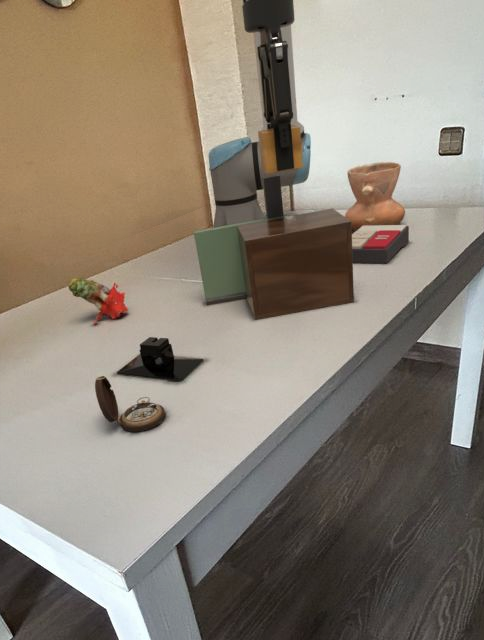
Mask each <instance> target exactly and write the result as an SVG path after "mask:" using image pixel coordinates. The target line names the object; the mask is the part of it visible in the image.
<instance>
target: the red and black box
mask: <svg viewBox="0 0 484 640" xmlns="http://www.w3.org/2000/svg"><path fill="white" fill-rule="evenodd" d="M409 227H410V226H408V225H406V224H397V225H373V226H362V227H361V228H360V229H358V230H357V231H355V230H354V232H352V257H353V264H388V263H389V262H390V261H391V260H392V259H393V258H394V257H395V256H396V254H397V253H398V252H400V250H401V249H402V248H405V247H406V246H407V245H408V243H409V241H410V240H409V239H410V228H409Z"/></svg>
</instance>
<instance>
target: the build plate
mask: <svg viewBox="0 0 484 640" xmlns="http://www.w3.org/2000/svg"><path fill="white" fill-rule="evenodd" d="M203 362H204V358H195V357H186V356H183V357H182V356H175V355H174V351H173V346H172V343H170V340H169V337H159V338H158V337H155V336H154V337H153V336H150V337H148V338H146V339H145V340H144V341H143V342H141V343H140V344H139V354H138V355H137V356H136V357H135V358H132V360H131V361H129V362H127V364H125V365H124V366H123V367H121V368H120V369H119V370H117V371H116V375H118V376H128V377H137V378H146V379H155V380H164V381H167V382H172V383H173V382H174V383H178V382H179V383H180V382H183V381H184V380H185V379H187V377H189V376H190V375H191V374H192V373H193V372H194V371H195V370H196V369H197V368H198V367H199V366H200V365H201V364H203Z"/></svg>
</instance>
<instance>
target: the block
mask: <svg viewBox="0 0 484 640" xmlns="http://www.w3.org/2000/svg"><path fill="white" fill-rule="evenodd" d="M291 132H292V144H293V157H294V168H293V169H298V168H303V162H302V147H301V133H300V127H299V126H295V125H291ZM257 134H258V135H257V137H258V141H259V147H260V156H261V165H262V170H263V171H264V172H265V173H267V174H269V173H275V172H281V171H277V162H276V152H275V141H274V131H273V128H272V129H267V130H261V129H260V130H257ZM287 170H292V169H287ZM282 171H286V170H282Z"/></svg>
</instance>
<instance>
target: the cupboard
mask: <svg viewBox="0 0 484 640" xmlns="http://www.w3.org/2000/svg"><path fill="white" fill-rule="evenodd" d="M237 230H238V237H239V244H240V252H241V259H242V266H243V274H244V281H245V288H246V292H242V293H236V294H231V295H225V296H220V297H214V298H209V299H205V302H206V305H207V306H210V305H216V304H221V303H226V302H232V301H238V300H242V299H246V300H247V302H248V305H249V307H250V310H251V313H252V315H253V319H254V320H255V321H256V320H261V319H266V318H272V317H277V316H283V315H289V314H295V313H298V312H299V313H300V312H304V311H305V312H306V311H311V310H317V309H322V308H328V307H332V306H338V305H339V306H340V305H345V304H350V303H354V302H355V293H354V291H355V290H354V289H355V288H354V263H353V257H352V234H353V230H352V225H351V221H350V220H349V219H347V218H346V217H345V215H343V214H342V213H340V212H339V211H338V210H336V209H334V208H333V207H331V208H327V209H323V210H317V211H310V212H306V213H299V214H295V215H289V216H288V217H283V218H277V219H272V220H266V221H260V222H255V223H249V224H244V225H238V226H237Z"/></svg>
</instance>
